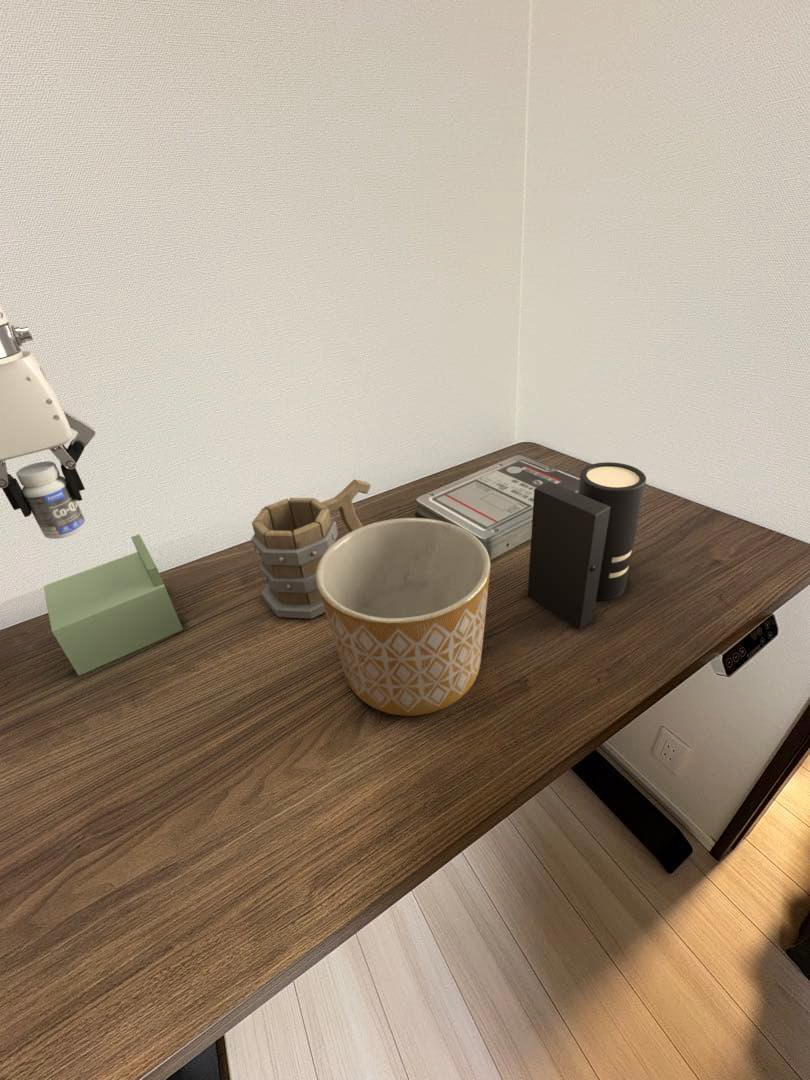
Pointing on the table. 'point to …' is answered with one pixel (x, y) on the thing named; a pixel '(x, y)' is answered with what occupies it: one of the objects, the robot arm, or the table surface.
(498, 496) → the hard drive
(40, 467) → the pill bottle
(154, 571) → the green block with fin
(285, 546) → the tankard
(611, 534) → the light fixture
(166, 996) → the table surface
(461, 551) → the planter
